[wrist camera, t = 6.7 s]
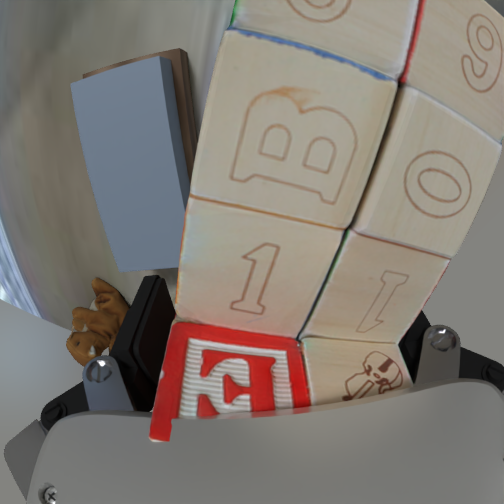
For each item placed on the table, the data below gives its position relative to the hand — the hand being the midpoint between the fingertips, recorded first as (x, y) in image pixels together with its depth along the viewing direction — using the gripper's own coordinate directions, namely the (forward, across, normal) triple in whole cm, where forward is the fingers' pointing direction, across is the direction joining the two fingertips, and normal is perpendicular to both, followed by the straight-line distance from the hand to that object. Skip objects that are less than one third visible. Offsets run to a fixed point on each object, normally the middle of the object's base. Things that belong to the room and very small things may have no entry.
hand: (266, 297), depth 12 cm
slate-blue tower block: (+24, +13, -1) cm, 27 cm away
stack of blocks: (+5, 0, -1) cm, 5 cm away
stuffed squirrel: (+28, +26, +24) cm, 46 cm away
